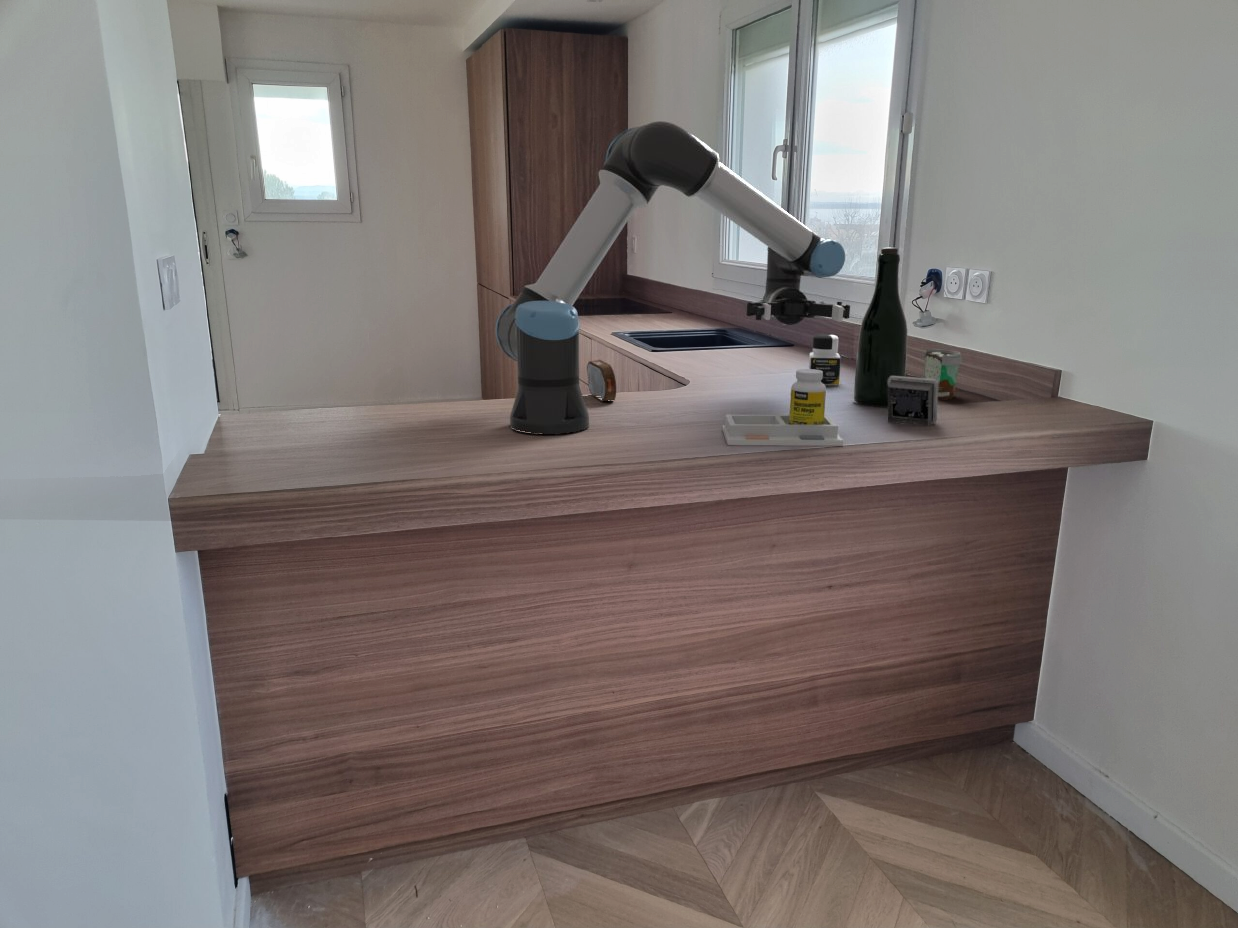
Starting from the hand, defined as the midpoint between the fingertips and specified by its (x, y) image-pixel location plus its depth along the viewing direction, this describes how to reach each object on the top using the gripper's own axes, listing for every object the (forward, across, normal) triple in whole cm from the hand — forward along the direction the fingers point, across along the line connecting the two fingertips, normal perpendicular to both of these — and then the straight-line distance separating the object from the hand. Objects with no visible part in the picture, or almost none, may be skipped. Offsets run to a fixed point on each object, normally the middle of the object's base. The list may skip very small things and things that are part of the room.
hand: (804, 313), depth 161 cm
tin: (-26, +40, -22) cm, 52 cm away
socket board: (+12, +5, -22) cm, 25 cm away
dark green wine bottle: (-22, -21, -21) cm, 37 cm away
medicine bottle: (-48, -14, -21) cm, 54 cm away
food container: (-31, -38, -20) cm, 53 cm away
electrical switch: (-1, -22, -21) cm, 30 cm away
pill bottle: (+11, 0, -20) cm, 23 cm away
